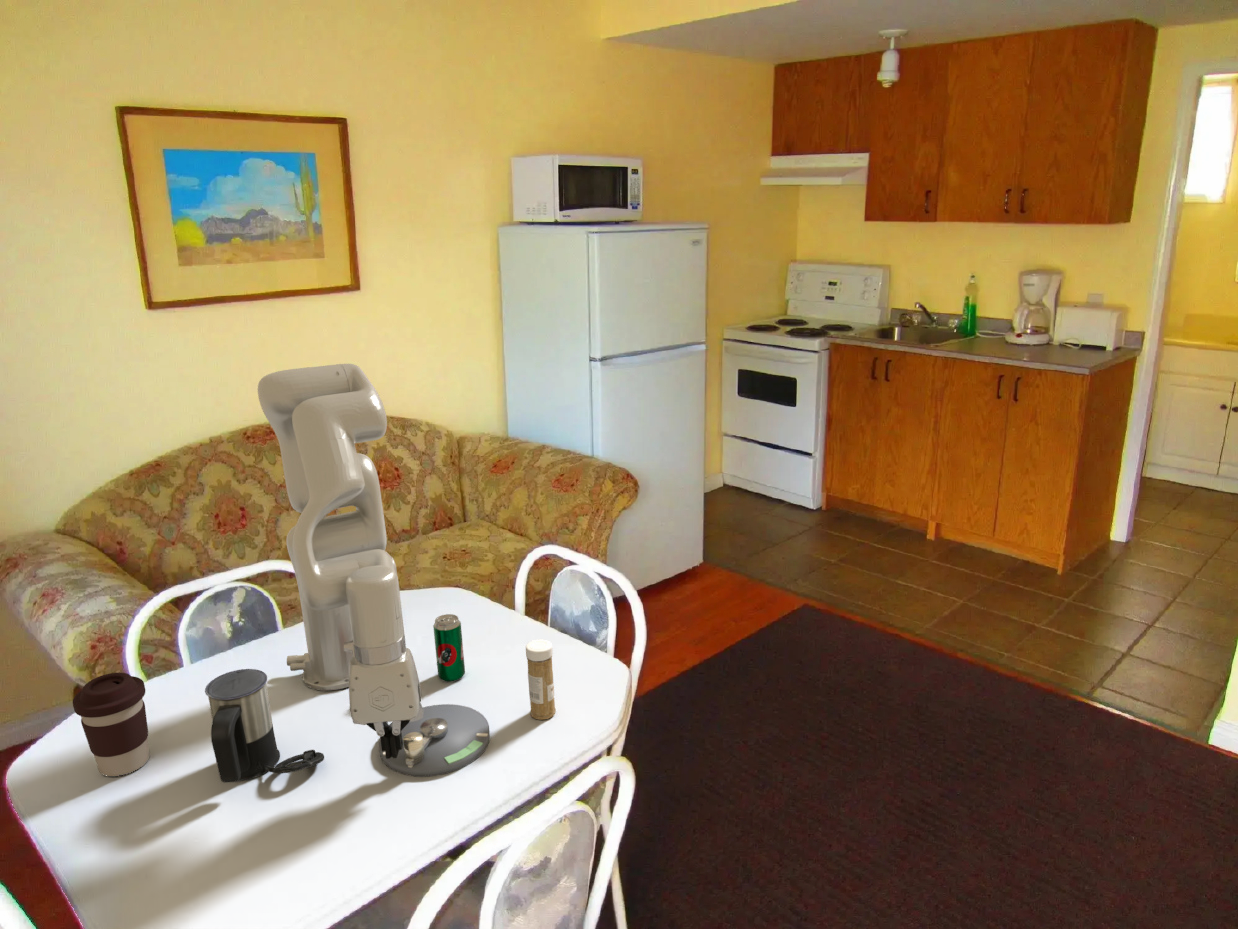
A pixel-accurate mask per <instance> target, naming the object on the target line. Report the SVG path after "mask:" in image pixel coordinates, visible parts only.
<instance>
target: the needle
mask: <svg viewBox="0 0 1238 929" xmlns="http://www.w3.org/2000/svg"><path fill="white" fill-rule="evenodd" d="M420 729H421V733H419V732H412V733H409V734H407V735H405V736H404V738H403V742H404V751H405V760H406V765H413V764H414V763H417V762H420V761H422V760H423V759H424V757H425V754H424V749H425V748H426V747H427V746H428V744H429V743H430V742H431V740H435V739H439V738H441V737H443V736H445V735H446V734H447V732H448V725H447V721H446V720H444V719H441V718H432V719H429V720H426V721H425V722H423V723H422V724H421V727H420Z"/></svg>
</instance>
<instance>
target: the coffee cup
mask: <svg viewBox="0 0 1238 929" xmlns="http://www.w3.org/2000/svg"><path fill="white" fill-rule="evenodd" d="M144 682H145V681H143V679H142V678H140V677H139V676H138V677H137V676H134V675H133V676H132V675H130V674H129V673H125V672H111V673H105V674H103V675H100V676H96V677H94V678H93V679H91V680H89V681H88V682H87V683H86V684H84V685H83V687H82V689H81V690H80V691H79V692H77V693H76V695H75V696H74V697H73V699H72V707H73V710H74V713H75V714H76V715H78V716H80V717H81V719H80V723H81V725H82V730H83V732H84V735H85V738H86V741H87V744H88V747H89V750H90V752H91V754H92V755H93V756H94V759H95V763H96V766H97V770H98V771H99V773H100V774H101V773H102V774H104V775H107V776H106V777H108V776H118V777H120V776H119V775H123V774H126V775H128V774H127V773H129V774H131V772H132V773H134V772H136V771H138V770H140V769H141V768H142V767H143V766H144V765H145V764H147V762H148V761H149V758H150V748H149V740H148V736H149V728H148V721H147V713H146V712H147V710H146V705H145V701H144V700H143V698H144V696H145V695H146V687H145V686H146V685H145V683H144ZM147 760H148V761H147ZM140 767H141V768H140ZM137 769H138V770H137ZM135 770H136V771H135ZM133 771H134V772H133ZM102 774H101V775H102ZM104 775H103V776H104ZM123 776H124V775H123Z"/></svg>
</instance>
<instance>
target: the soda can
mask: <svg viewBox="0 0 1238 929" xmlns="http://www.w3.org/2000/svg"><path fill="white" fill-rule="evenodd" d="M432 627H433V637H434V648H435V657H436V666H437V677H438V678H439V679H440V680H441V681H443V682H447V683H450V682H451V683H452V682H453V683H454V682H456V681H459V680H461V679H462V678H463V677H464V676H465V674H466V668H465V667H466V666H465V657H464V656H465V655H464V647H463V646H464V644H463V633H462V623H461V621H460V619H459V616H458V615H456V614H452V613H450V614H449V613H446V614H442V615H438V616H437V617H436V618H435V620H434V624H433V625H432Z"/></svg>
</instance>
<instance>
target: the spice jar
mask: <svg viewBox="0 0 1238 929" xmlns="http://www.w3.org/2000/svg"><path fill="white" fill-rule="evenodd" d="M553 654H554V652H553V643H552V642H550V641H549V640H546V639H533V640H531V641H530V642H528V643H527V644H526V646H525V657H526V660H527V679H528V694H529V703H530V704H529V705H530V711H529V712H530V716H531V717H532V718H534V719H535V720H539V721H541V720H542V721H543V720H544V721H545V720H548V719H551V718H552V717H553V716H555V714H556V712H557V711H556V710H557V709H556V704H555V683H554V670H553V658H552V657H553Z"/></svg>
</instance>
